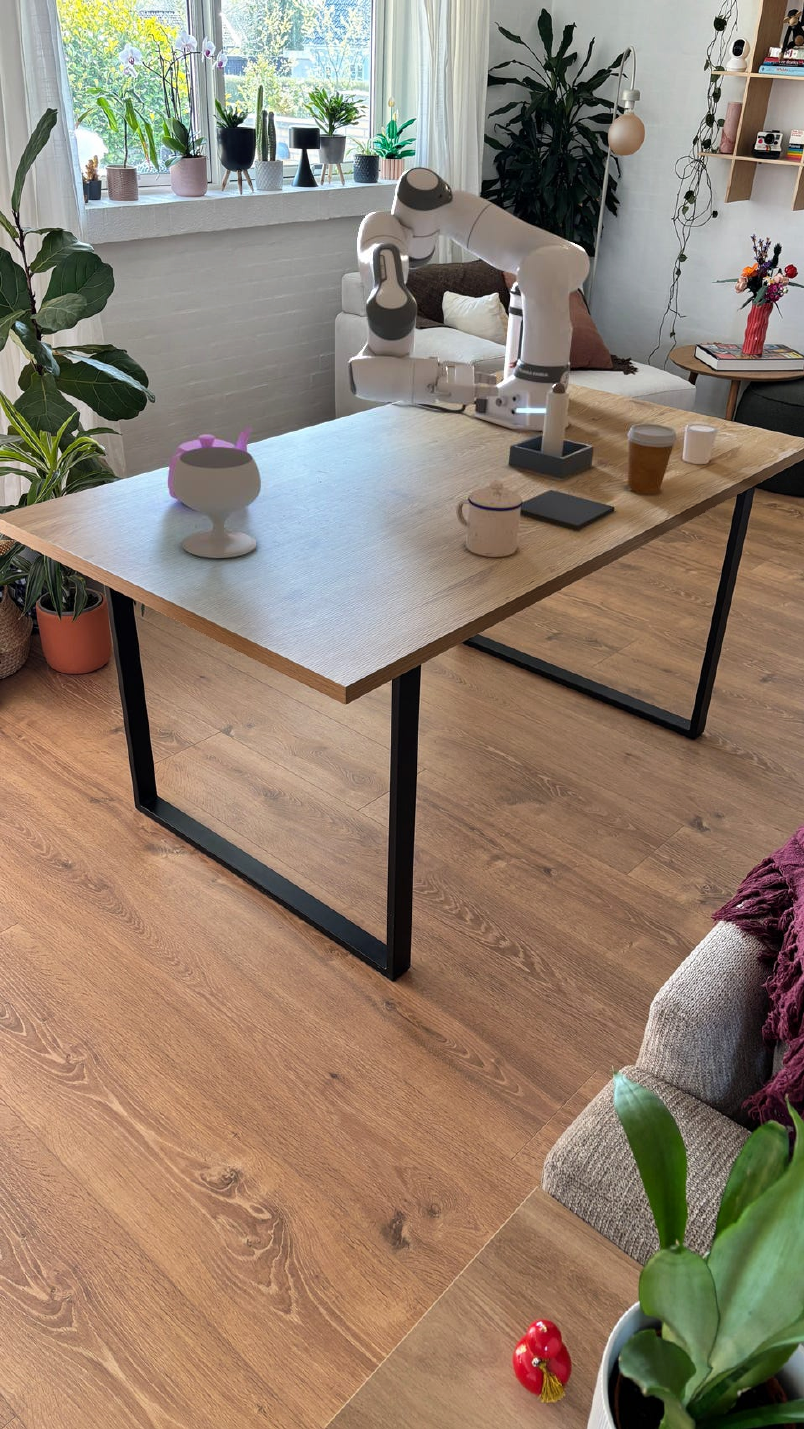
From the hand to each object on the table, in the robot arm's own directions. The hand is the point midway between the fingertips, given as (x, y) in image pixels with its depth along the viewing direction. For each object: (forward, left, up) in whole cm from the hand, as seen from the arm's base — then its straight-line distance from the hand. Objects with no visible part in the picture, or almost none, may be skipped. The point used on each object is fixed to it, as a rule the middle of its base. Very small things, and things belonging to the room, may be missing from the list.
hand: (497, 385), depth 218 cm
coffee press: (-30, +60, -16) cm, 69 cm away
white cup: (+30, +35, -16) cm, 49 cm away
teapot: (-25, -55, -16) cm, 62 cm away
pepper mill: (+10, +7, -16) cm, 20 cm away
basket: (+10, +7, -16) cm, 20 cm away
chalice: (-7, -71, -16) cm, 73 cm away
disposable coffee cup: (+31, +8, -16) cm, 36 cm away
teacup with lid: (+25, -40, -16) cm, 50 cm away
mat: (+26, -15, -16) cm, 34 cm away
